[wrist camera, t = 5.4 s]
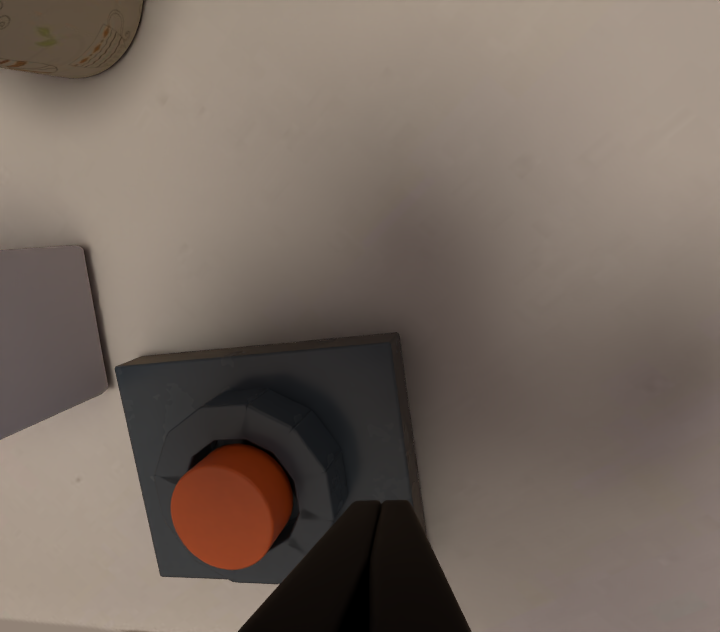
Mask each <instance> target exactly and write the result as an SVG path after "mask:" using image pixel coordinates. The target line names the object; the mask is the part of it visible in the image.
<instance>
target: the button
mask: <svg viewBox="0 0 720 632" xmlns="http://www.w3.org/2000/svg"><path fill="white" fill-rule="evenodd" d="M292 508H293V493H292V488H291V484H290V482H289V479H288V477H287V475H286V473H285V471H284V470H283V468H282V467H281V466H280V465H279V463H278V462H277V461H276V460H275V459H274V458H273V457H271V456H270V455H269V454H267V453H266V452H264V451H263V450H261V449H259V448H256V447H254V446H251V445H246V444H228V445H224V446H221V447H219V448H217V449H215V450H214V451H212V452H211V453H210V454H209V455H207V456H206V457H205V458H204V459H203V460H201V461H200V462H199V463H198V464H196V465H195V466H194V467H193V468H192V469H190V470H189V471H188V472H187V473H186V474H184V475H183V476H182V477H181V479H180V480H179V481H178V483H177V485H176V486H175V489H174V491H173V494H172V498H171V516H172V521H173V525H174V527H175V530H176V532H177V534H178V536H179V538H180V539H181V541H182V542H183V544H184V545H185V546H186V547H187V549H188V550H189V551H190V552H191V553H192V554H193V555H195V556H196V557H197V558H199V559H200V560H202V561H203V562H205V563H207V564H209V565H211V566H214V567H217V568H221V569H226V570H238V569H243V568H246V567H249V566H251V565H253V564H255V563H257V562H258V561H260V560H261V559H262V558H263V557H264V556H265V555H266V553H267V552H268V550H269V549H270V547H271V546H272V544H273V543H274V541H275V540H276V539H277V537H278V536H279V534H280V533H281V531H282V530H283V528H284V527H285V525H286V524H287V522H288V520H289V518H290V516H291V513H292Z"/></svg>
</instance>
